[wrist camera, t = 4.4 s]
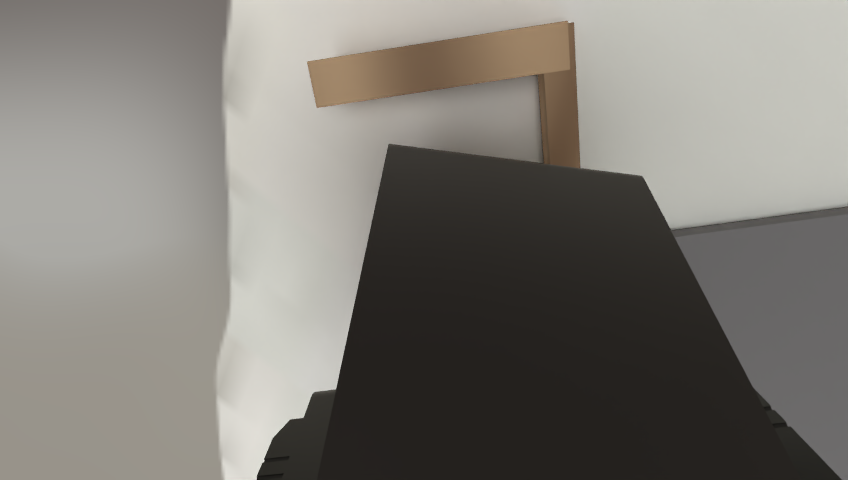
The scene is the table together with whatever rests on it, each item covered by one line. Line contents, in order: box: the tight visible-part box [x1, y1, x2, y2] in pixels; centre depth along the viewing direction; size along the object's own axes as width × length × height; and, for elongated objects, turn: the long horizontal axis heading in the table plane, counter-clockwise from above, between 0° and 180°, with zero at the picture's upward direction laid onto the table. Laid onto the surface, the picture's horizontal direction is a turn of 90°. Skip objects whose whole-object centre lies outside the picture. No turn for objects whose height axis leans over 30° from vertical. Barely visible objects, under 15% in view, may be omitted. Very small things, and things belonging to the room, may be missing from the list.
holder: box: [307, 21, 580, 168], centre depth 20 cm, size 9×14×5 cm, turn 8°
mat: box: [671, 207, 848, 480], centre depth 25 cm, size 16×16×1 cm
